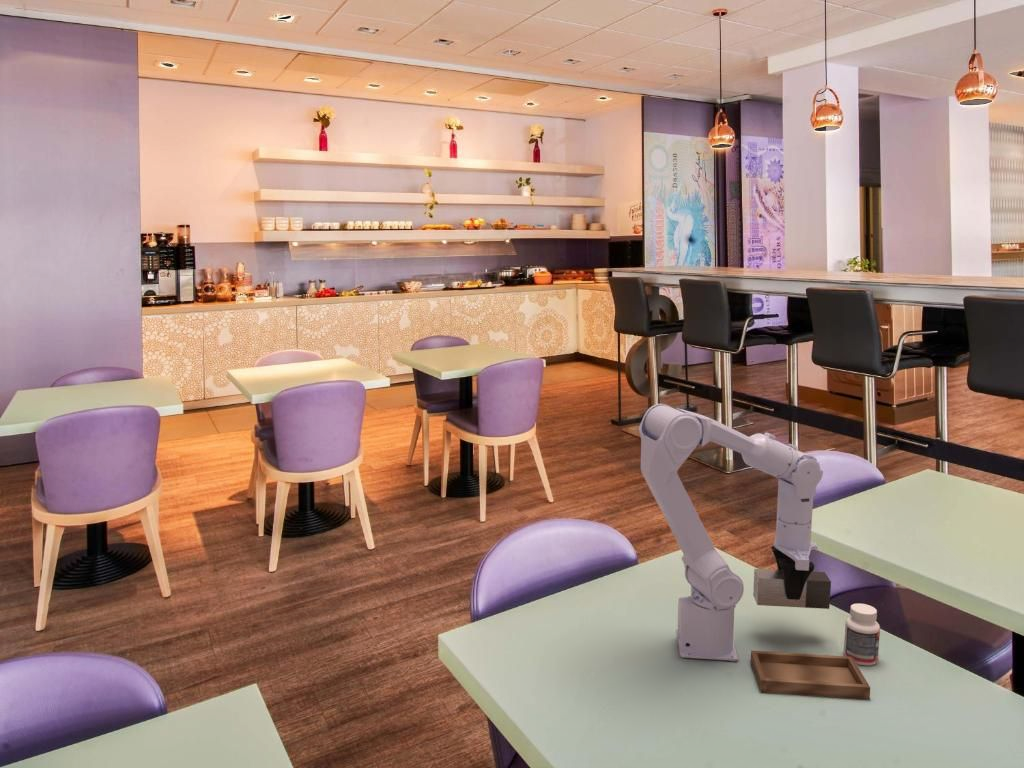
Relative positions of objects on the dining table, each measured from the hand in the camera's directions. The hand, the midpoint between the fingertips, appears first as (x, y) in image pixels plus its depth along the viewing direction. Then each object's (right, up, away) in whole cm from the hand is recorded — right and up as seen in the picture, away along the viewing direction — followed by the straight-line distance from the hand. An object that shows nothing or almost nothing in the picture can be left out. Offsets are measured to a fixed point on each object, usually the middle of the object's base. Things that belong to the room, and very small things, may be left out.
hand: (790, 592), depth 129 cm
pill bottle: (+10, -10, -6) cm, 15 cm away
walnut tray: (-2, -10, -12) cm, 16 cm away
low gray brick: (0, -2, 0) cm, 2 cm away
